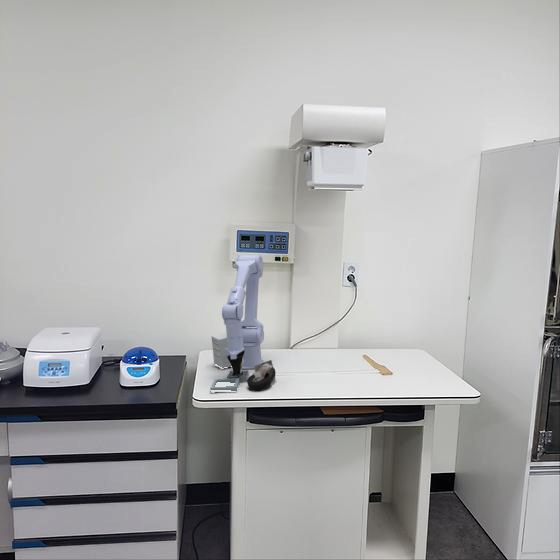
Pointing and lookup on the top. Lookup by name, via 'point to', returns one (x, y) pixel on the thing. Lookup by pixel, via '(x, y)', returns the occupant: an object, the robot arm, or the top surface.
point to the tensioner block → (242, 377)
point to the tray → (232, 388)
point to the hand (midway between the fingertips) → (237, 372)
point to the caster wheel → (262, 376)
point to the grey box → (220, 350)
